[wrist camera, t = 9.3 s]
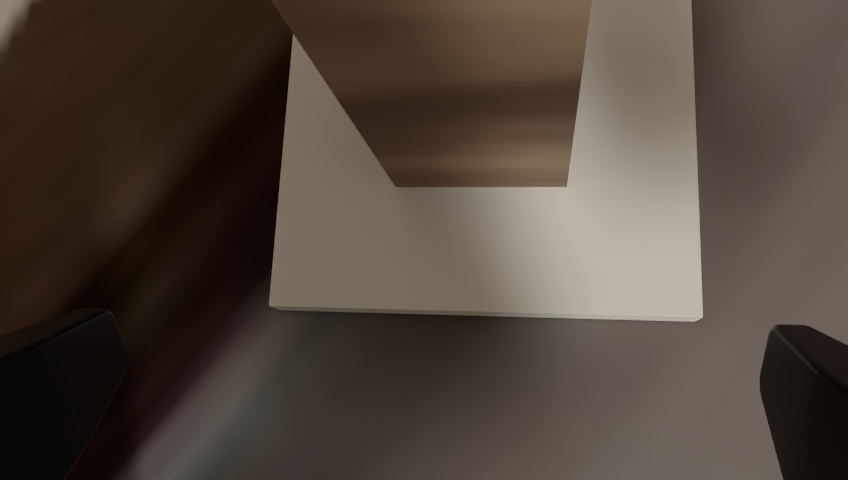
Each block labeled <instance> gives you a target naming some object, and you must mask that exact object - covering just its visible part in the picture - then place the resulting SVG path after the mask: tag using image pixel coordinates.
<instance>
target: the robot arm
mask: <svg viewBox="0 0 848 480" xmlns="http://www.w3.org/2000/svg"><path fill="white" fill-rule="evenodd" d="M128 360H129V359H128V352H127V349H126V346H125V343H124V341H123V338H122V335H121V333H120V330H119V327H118V325H117V322H116V319H115V317H114V315H113V314H112V312H110V311H109V310H107V309H93V308H84V309H79V310H76V311H73V312H70V313H67V314H64V315H60V316H57V317H54V318H51V319H48V320H45V321H42V322H39V323H36V324H33V325H30V326H27V327H24V328H21V329H18V330H15V331H12V332H9V333H6V334H3V335H0V480H65V479H66V477H67V476H68V474H69V473H70V471H71V470H72V468H73V467H74V465H75V464H76V462H77V461H78V459H79V458H80V456H81V454H82V453H83V451H84V450H85V448H86V446H87V444H88V443H89V441H90V439H91V437H92V436H93V434H94V432H95V430H96V428H97V426H98V424H99V422H100V420H101V419H102V417H103V415H104V413H105V411H106V409H107V407H108V405H109V403H110V402H111V400H112V398H113V396H114V394H115V392H116V390H117V388H118V386H119V384H120V383H121V381H122V379H123V377H124V375H125V373H126V371H127V367H128ZM760 392H761V398H762V401H763V405H764V409H765V413H766V416H767V420H768V424H769V428H770V431H771V435H772V439H773V443H774V446H775V450H776V454H777V458H778V462H779V465H780V469H781V473H782V476H783V480H848V345H846V344H844V343H842V342H840V341H838V340H836V339H834V338H832V337H830V336H828V335H826V334H824V333H822V332H819V331H817V330H815V329H813V328H811V327H809V326H806V325H780V324H778V325H775V326H773V327H772V328H771V330H770V332H769V335H768V340H767V345H766V349H765V354H764V359H763V363H762V368H761V373H760Z"/></svg>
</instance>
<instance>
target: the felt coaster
mask: <svg viewBox="0 0 848 480" xmlns="http://www.w3.org/2000/svg"><path fill="white" fill-rule="evenodd" d="M269 306H271V307H273V308H276V309H279V310H286V311H322V312H359V313H395V314H432V315H468V316H505V317H541V318H578V319H615V320H651V321H688V322H695V321H697V320H699V319H701V318H703V306H702V278H701V251H700V223H699V196H698V168H697V141H696V113H695V86H694V58H693V31H692V4H691V0H592V4H591V11H590V19H589V26H588V34H587V41H586V48H585V56H584V63H583V71H582V78H581V85H580V93H579V100H578V108H577V115H576V122H575V130H574V137H573V145H572V152H571V159H570V167H569V174H568V182H567V187H395V185H394V184H393V182H392V181H391V179H390V178H389V176H388V175H387V173H386V172H385V170H384V169H383V167H382V166H381V164H380V163H379V161H378V160H377V158H376V157H375V155H374V154H373V152H372V151H371V149H370V148H369V146H368V145H367V143H366V142H365V140H364V139H363V137H362V136H361V134H360V133H359V132H358V130H357V129H356V127H355V126H354V124H353V123H352V121H351V120H350V118H349V117H348V115H347V114H346V112H345V111H344V109H343V108H342V106H341V105H340V103H339V102H338V100H337V99H336V97H335V96H334V94H333V93H332V91H331V90H330V88H329V87H328V85H327V84H326V82H325V81H324V79H323V78H322V76H321V75H320V73H319V72H318V70H317V69H316V67H315V66H314V64H313V63H312V61H311V60H310V58H309V57H308V55H307V54H306V52H305V51H304V49H303V48H302V46H301V45H300V43H299V42H298V40H297V39H296V37H295V36H294V34H293V41H292V52H291V63H290V74H289V85H288V97H287V108H286V119H285V130H284V141H283V153H282V164H281V175H280V186H279V197H278V209H277V220H276V231H275V242H274V253H273V265H272V276H271V287H270V298H269Z"/></svg>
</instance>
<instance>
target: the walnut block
mask: <svg viewBox="0 0 848 480" xmlns="http://www.w3.org/2000/svg"><path fill="white" fill-rule="evenodd" d="M271 1H272V3H273V4H274V6H275V7H276V9H277V10H278V12H279V13H280V15H281V16H282V18H283V19H284V21H285V22H286V24H287V25H288V27H289V28H290V30H291V31H292V33H293V34H294V36H295V37H296V39H297V40H298V42H299V43H300V45H301V46H302V48H303V49H304V51H305V52H306V54H307V55H308V57H309V58H310V60H311V61H312V63H313V64H314V66H315V67H316V69H317V70H318V72H319V73H320V75H321V76H322V78H323V79H324V81H325V82H326V84H327V85H328V87H329V88H330V90H331V91H332V93H333V94H334V96H335V97H336V99H337V100H338V102H339V103H340V105H341V106H342V108H343V109H344V111H345V112H346V114H347V115H348V117H349V118H350V120H351V121H352V123H353V124H354V126H355V127H356V129H357V130H358V132H359V133H360V134H361V136H362V137H363V139H364V140H365V142H366V143H367V145H368V146H369V148H370V149H371V151H372V152H373V154H374V155H375V157H376V158H377V160H378V161H379V163H380V164H381V166H382V167H383V169H384V170H385V172H386V173H387V175H388V176H389V178H390V179H391V181H392V182H393V184H394V185H395V187H567V182H568V174H569V167H570V159H571V152H572V145H573V137H574V130H575V122H576V115H577V108H578V100H579V93H580V85H581V78H582V71H583V63H584V56H585V48H586V41H587V34H588V26H589V19H590V11H591V4H592V0H271Z"/></svg>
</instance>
